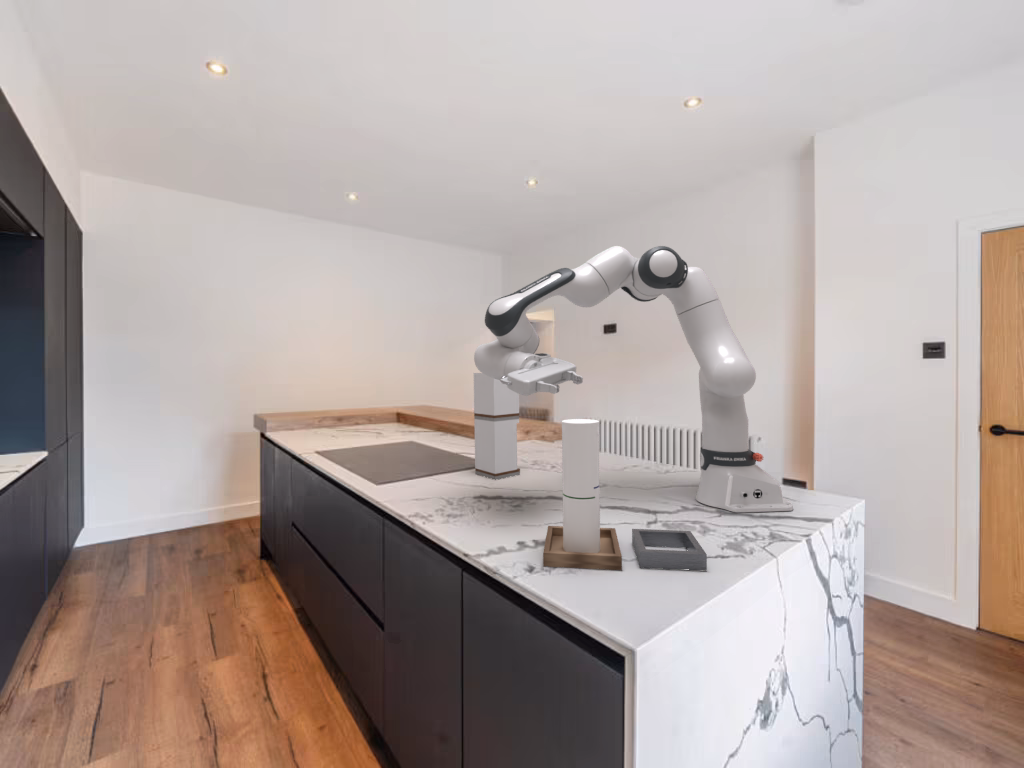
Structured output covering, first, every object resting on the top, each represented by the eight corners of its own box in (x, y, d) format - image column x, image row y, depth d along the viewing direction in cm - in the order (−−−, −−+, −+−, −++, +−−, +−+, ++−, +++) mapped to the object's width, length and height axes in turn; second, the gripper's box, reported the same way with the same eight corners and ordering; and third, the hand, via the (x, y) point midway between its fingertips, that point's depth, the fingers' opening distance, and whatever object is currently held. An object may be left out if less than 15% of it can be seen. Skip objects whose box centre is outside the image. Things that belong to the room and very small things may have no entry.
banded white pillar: (520, 474, 151) (518, 372, 150) (495, 480, 144) (493, 372, 143) (499, 469, 160) (497, 372, 159) (475, 474, 153) (473, 373, 152)
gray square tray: (690, 545, 89) (690, 530, 89) (706, 571, 78) (706, 554, 78) (632, 543, 91) (632, 528, 91) (640, 568, 79) (639, 551, 79)
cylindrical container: (607, 547, 87) (606, 420, 86) (587, 559, 82) (585, 424, 81) (576, 538, 92) (575, 418, 91) (556, 548, 86) (554, 421, 86)
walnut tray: (615, 540, 92) (615, 528, 92) (621, 570, 79) (621, 556, 79) (548, 537, 95) (548, 525, 94) (543, 566, 81) (543, 552, 81)
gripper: (496, 366, 103) (542, 382, 94) (550, 351, 117) (594, 364, 108) (495, 392, 105) (540, 409, 96) (548, 374, 119) (591, 388, 111)
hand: (569, 385), depth 102 cm, fingers open, 8 cm apart
